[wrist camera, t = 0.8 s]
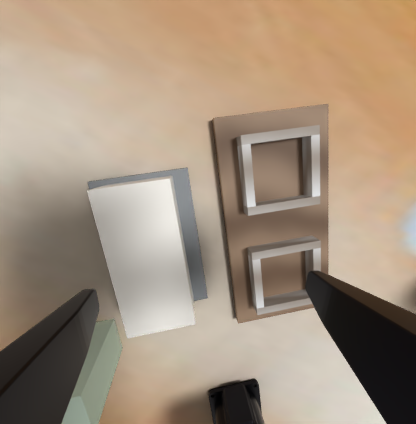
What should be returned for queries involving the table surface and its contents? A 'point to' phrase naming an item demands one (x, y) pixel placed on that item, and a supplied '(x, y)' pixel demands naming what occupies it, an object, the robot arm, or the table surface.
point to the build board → (274, 205)
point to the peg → (95, 375)
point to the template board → (186, 221)
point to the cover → (145, 254)
